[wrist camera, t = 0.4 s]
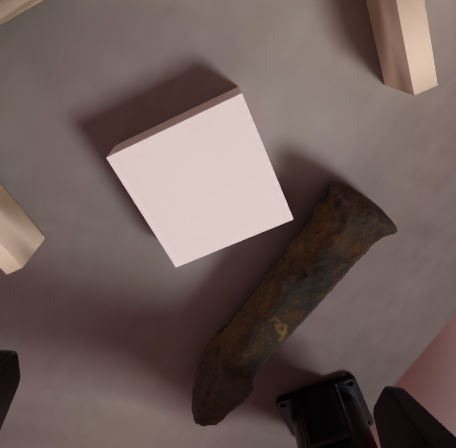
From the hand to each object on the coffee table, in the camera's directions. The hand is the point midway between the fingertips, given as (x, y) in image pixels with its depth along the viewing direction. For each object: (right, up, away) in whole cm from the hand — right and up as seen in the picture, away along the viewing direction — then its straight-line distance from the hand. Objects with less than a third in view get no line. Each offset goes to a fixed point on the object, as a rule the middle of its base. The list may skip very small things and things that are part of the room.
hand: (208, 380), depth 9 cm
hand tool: (+3, -1, +16) cm, 16 cm away
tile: (-1, +7, +12) cm, 13 cm away
